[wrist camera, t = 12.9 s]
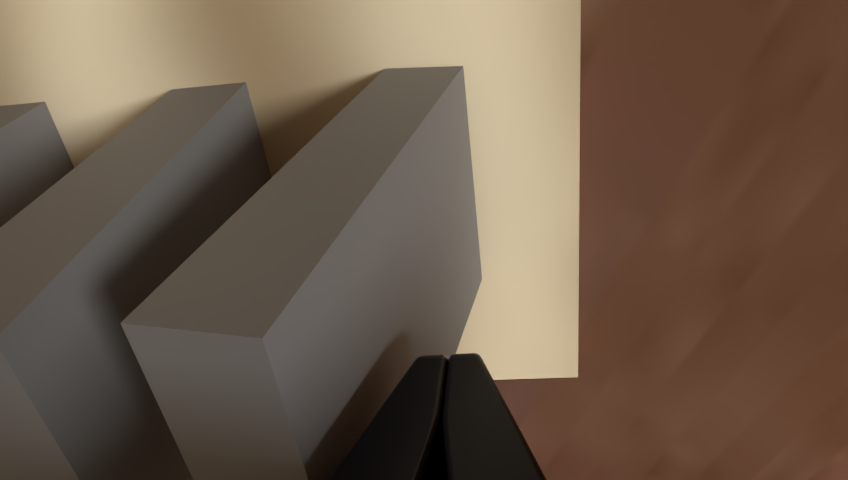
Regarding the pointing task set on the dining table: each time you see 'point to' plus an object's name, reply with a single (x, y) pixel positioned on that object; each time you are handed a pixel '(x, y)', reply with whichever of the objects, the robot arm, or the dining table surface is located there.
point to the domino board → (331, 92)
